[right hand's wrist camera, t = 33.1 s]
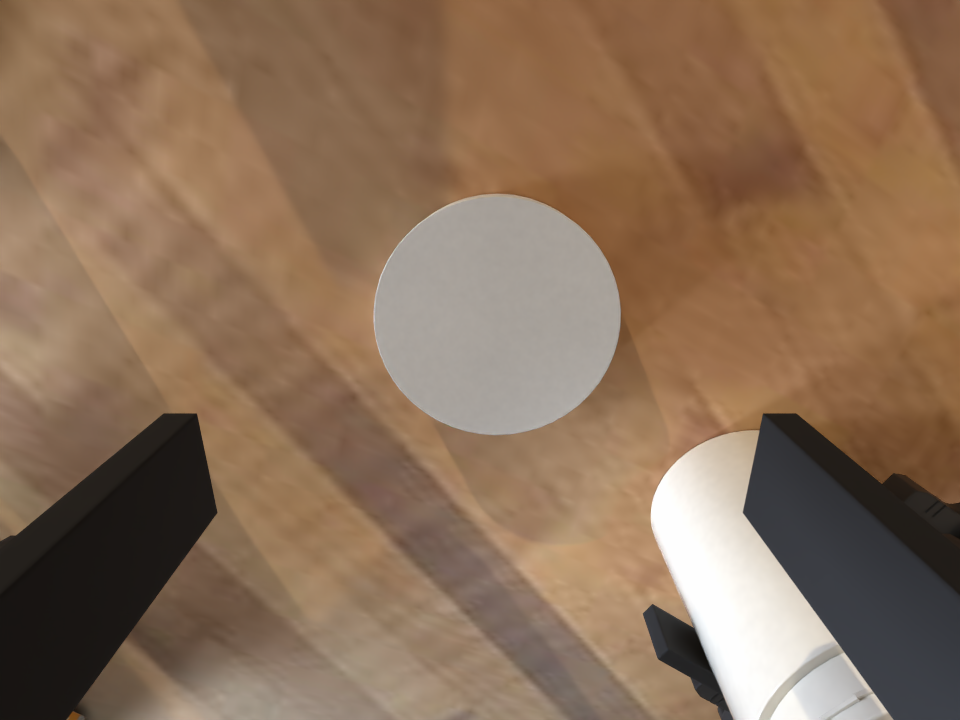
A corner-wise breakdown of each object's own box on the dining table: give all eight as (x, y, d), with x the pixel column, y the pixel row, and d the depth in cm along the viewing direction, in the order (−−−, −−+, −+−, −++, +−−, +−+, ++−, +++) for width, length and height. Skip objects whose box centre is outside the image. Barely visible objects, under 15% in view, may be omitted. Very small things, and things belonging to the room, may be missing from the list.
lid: (430, 153, 25) (424, 152, 23) (652, 250, 27) (666, 258, 24) (353, 368, 29) (341, 385, 27) (551, 444, 30) (555, 466, 28)
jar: (794, 592, 33) (1023, 918, 19) (630, 566, 33) (737, 880, 19) (861, 445, 30) (1205, 709, 15) (679, 416, 30) (857, 656, 15)
